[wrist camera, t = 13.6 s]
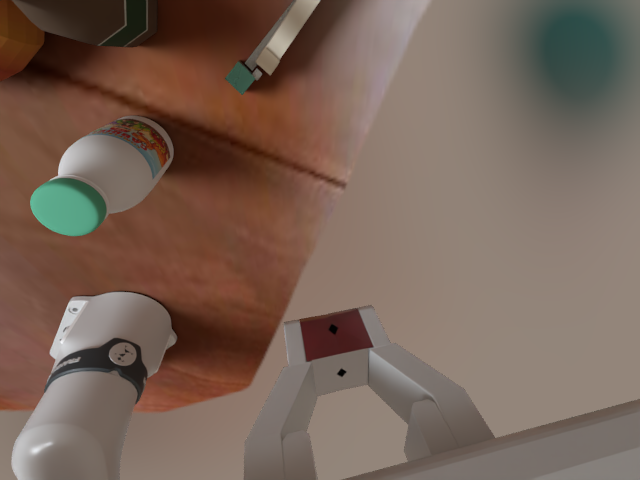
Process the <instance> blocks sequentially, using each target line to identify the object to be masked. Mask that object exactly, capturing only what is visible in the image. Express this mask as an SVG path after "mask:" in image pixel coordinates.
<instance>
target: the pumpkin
mask: <svg viewBox="0 0 640 480" xmlns="http://www.w3.org/2000/svg"><path fill="white" fill-rule="evenodd" d="M43 44H44V31H42V30H41V29H40V28H38V27H37V26H36V25H35V24H34V23H32V22H31V21H30V20H29V19H28V17H27V16H26V15H25V14H24V13H23V12H22V11H21V10H20V9H19V8H18V7H17V6H16V4H15V3H14V2H13V1H12V0H0V81H2V80H4V79H6V78H8V77H10V76H12V75H14V74H16V73H18V72H20V71H22V70H23V69H24V68H25V66H26V65H27V64H28V63H29V62H30V60H31V59H32V58H33V57H34V55H35V54H36V53H37V52H38V50H39V49H40V48H41V47H42V45H43Z"/></svg>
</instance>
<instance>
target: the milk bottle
mask: <svg viewBox="0 0 640 480" xmlns="http://www.w3.org/2000/svg"><path fill="white" fill-rule="evenodd" d="M173 155H174V149H173V144H172V141H171V139H170V137H169V136H168V134H167V133H166V131H165V130H164V129H163V128H162V127H161V126H160V125H158V124H157V123H155V122H154V121H152V120H150V119H148V118H145V117H141V116H126V117H122V118H120V119H117V120H115V121H113V122H111V123H109V124H107V125H105V126H103V127H101V128H99V129H97V130H96V131H94V132H92V133H90V134H88V135H86V136H84V137H83V138H81V139H79V140H78V141H76V142H75V143H74V144H72V145H71V146H70V147H69V148H68V149H67V151H66V152H65V153H64V155H63V157H62V159H61V161H60V164H59V170H58V176H57V177H54V178H52V179H51V180H49V181H48V182H46V183H44V184H43V185H41V186H40V187H39V188H37V189H36V190H35V191H34V193H33V195H32V197H31V201H30V204H31V209H32V212H33V214H34V215H35V217H36V218H37V219H38V220H39V221H40V222H41V223H42V224H43V225H44V226H46V227H47V228H49V229H51V230H52V231H55V232H57V233H60V234H64V235H69V236H81V235H85V234H88V233H90V232H92V231H94V230H95V229H96V228H98V227H99V226H100V225H101V223H102V222H103V221H104V220H105V219H106V218H107V216H108V214H109V213H117V212H121V211H124V210H127V209H130V208H132V207H134V206H135V205H137V204H138V203H140V202H141V201H142V200H143V199H144V198H145V197H146V196H147V195H148V194H149V192H150V191H151V190H152V189H153V187H154V186H155V185H156V184H157V182H158V181H159V179H160V178H161V177H162V175H163V174H164V173H165V171H166V170H167V168H168V167H169V165H170V164H171V162H172V159H173Z"/></svg>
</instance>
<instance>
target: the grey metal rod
mask: <svg viewBox="0 0 640 480" xmlns="http://www.w3.org/2000/svg"><path fill="white" fill-rule="evenodd" d="M295 1H296V0H293V2H292V3H291V4H290V6H289V7H288V8H287V9H286V11H285V12H284V13H283V14H282V16H281V17H280V18H279V20H278V21H277V22H276V23H275V25H274V26H273V27H272V29H271V30H270V31H269V32H268V34H267V35H266V36H265V38H264V39H263V40H262V41H261V43H260V44H259V45H258V47H257V48H256V49H255V50H254V52H253V53H252V54H251V56H250V57H249V58H248V59H247V61H246V62H245V64H246V65H247V66H248V67H249V68H250V69H251V70H252V71H253V70H254V68H255V67H256V66H257V65H258V64H257V63H256V62H255V60H256V58H257V57H258V55H259V54H260V52H261V51H262V49H263V48H264V47H265V46H266V45H267V43H268V42H269V40H270V39H271V37H272V36H273V34H274V33H275V31H276V30H277V28H278V27H279V25H280V24H281V22H282V21H283V19H284V18H285V16H286V15H287V13H288V12H289V10H290V9H291V7H292V5H293V4H294V2H295Z"/></svg>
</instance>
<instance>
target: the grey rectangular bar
mask: <svg viewBox="0 0 640 480" xmlns="http://www.w3.org/2000/svg"><path fill="white" fill-rule="evenodd" d="M319 2H320V0H296V1H295V2H294V4H293V5H292V7H291V9H290V10H289V12H288V13H287V15H286V16H285V18H284V19H283V21H282V22H281V24H280V25H279V27H278V28H277V30H276V31H275V33H274V34H273V36H272V37H271V39H270V40H269V42H268V43H267V45H266V46H265V47H264V48H263V49H262V51H261V52H260V54H259V55H258V57H257V58H256V60H255V62H256V63H257V64H258V65H259V66H260V67H261V68H262V69H263V70H265V71H266V72H267V73H268V74H269V75H271V74H272V73H273V71H274V70H275V68H276V67H277V65H278V64H279V62H280V61H279V60H280V59H281V57H282V56H283V54H284V53H285V51H286V50H287V48H288V47H289V45H290V44H291V43H292V41H293V40H294V38H295V37H296V35H297V34H298V32H299V31H300V29H301V28H302V26H303V25H304V24H305V22H306V21H307V19H308V18H309V16H310V15H311V13H312V12H313V10H314V9H315V7H316V6H317V5H318V3H319Z"/></svg>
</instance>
